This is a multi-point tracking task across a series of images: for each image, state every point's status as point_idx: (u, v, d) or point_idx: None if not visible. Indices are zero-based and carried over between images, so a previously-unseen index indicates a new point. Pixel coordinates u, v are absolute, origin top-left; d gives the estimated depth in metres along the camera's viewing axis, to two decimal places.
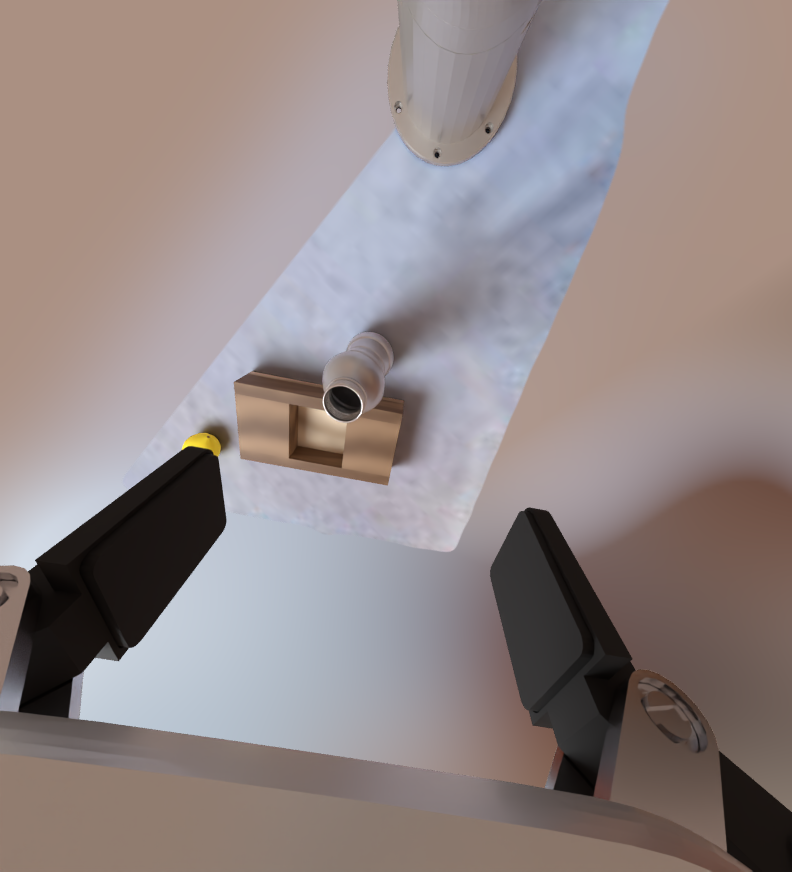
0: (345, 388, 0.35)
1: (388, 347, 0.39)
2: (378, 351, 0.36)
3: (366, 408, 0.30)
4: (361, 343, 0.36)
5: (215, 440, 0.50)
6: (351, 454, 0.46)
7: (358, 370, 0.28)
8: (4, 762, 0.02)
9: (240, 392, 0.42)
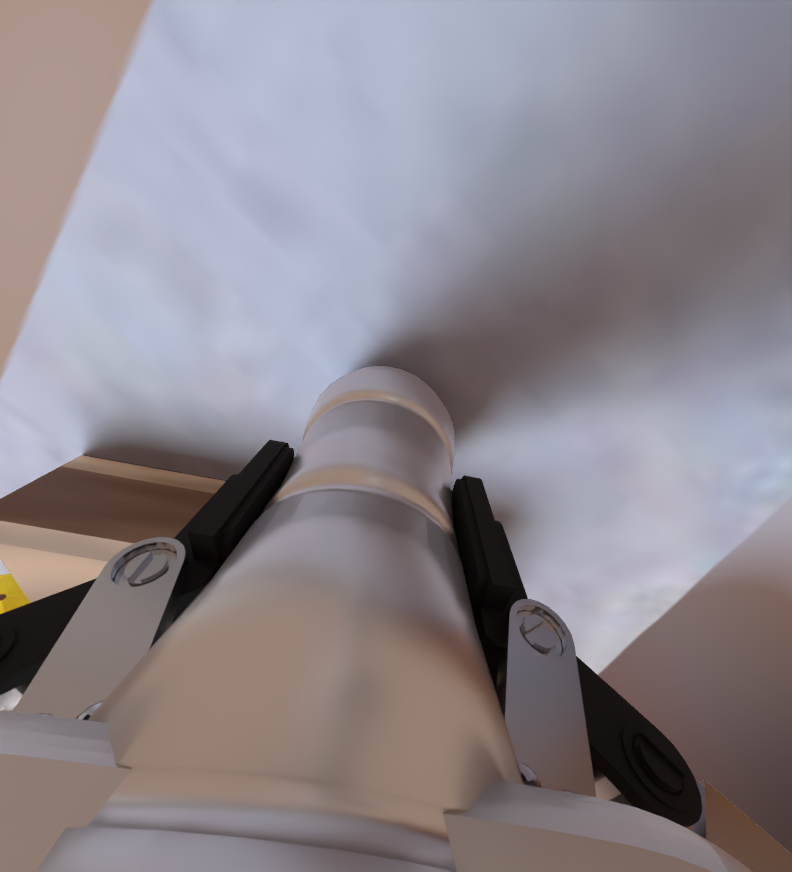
0: None
1: (446, 423, 0.12)
2: (429, 476, 0.08)
3: None
4: (352, 440, 0.08)
5: None
6: None
7: None
8: (4, 762, 0.02)
9: (1, 539, 0.14)
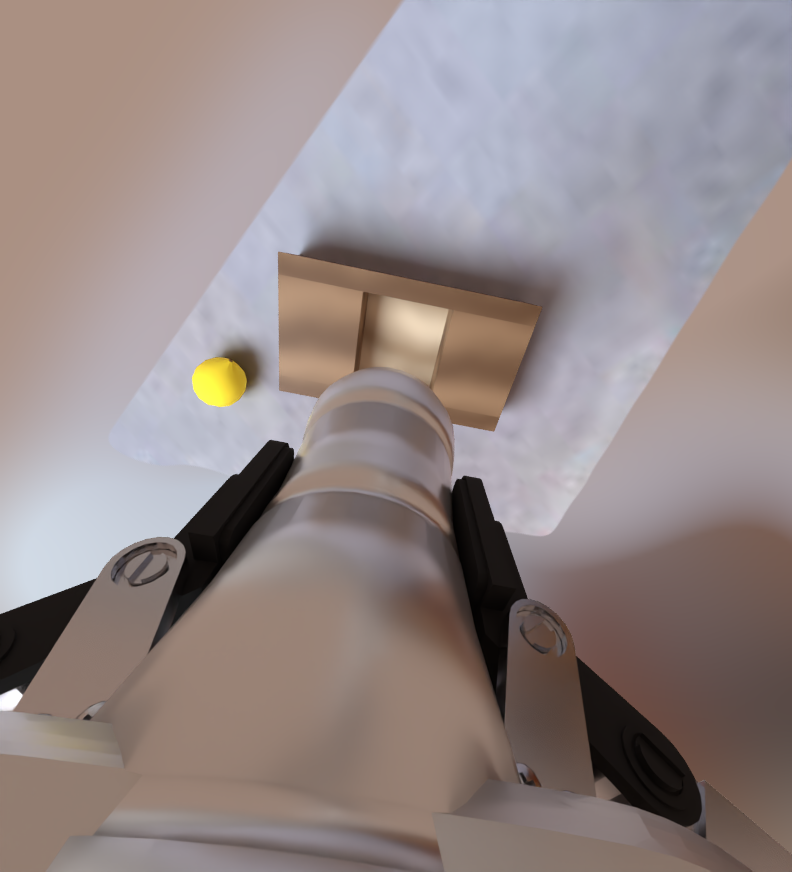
0: None
1: (446, 424, 0.12)
2: (428, 478, 0.08)
3: None
4: (352, 442, 0.08)
5: (240, 368, 0.34)
6: (448, 381, 0.30)
7: None
8: (4, 762, 0.02)
9: (287, 271, 0.27)
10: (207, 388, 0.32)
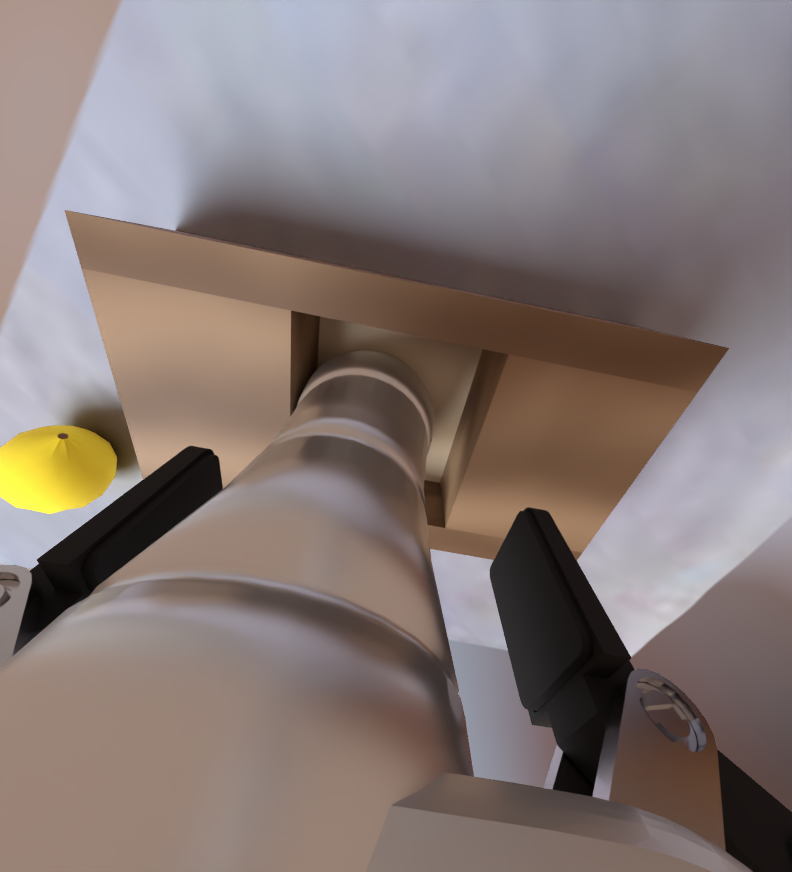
0: None
1: (424, 399, 0.13)
2: (400, 436, 0.09)
3: None
4: (334, 404, 0.09)
5: (93, 445, 0.19)
6: (485, 491, 0.15)
7: None
8: None
9: (101, 262, 0.11)
10: (11, 492, 0.17)
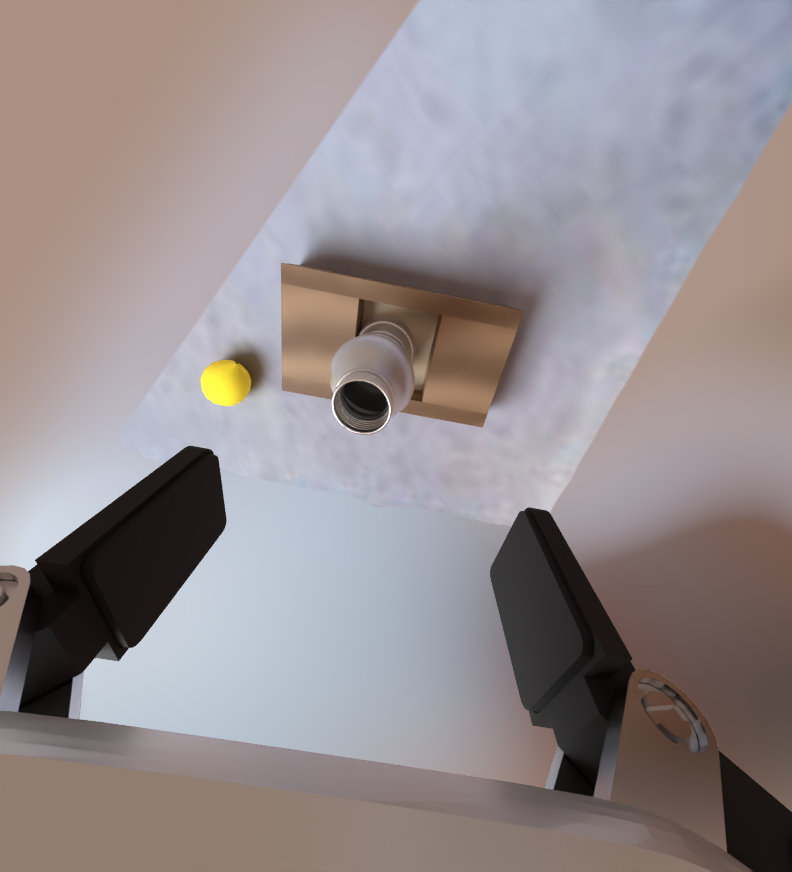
0: (358, 386, 0.27)
1: (410, 335, 0.31)
2: (400, 339, 0.27)
3: None
4: (378, 328, 0.27)
5: (245, 370, 0.37)
6: (439, 380, 0.33)
7: (382, 359, 0.19)
8: (3, 762, 0.02)
9: (289, 281, 0.29)
10: (215, 388, 0.35)
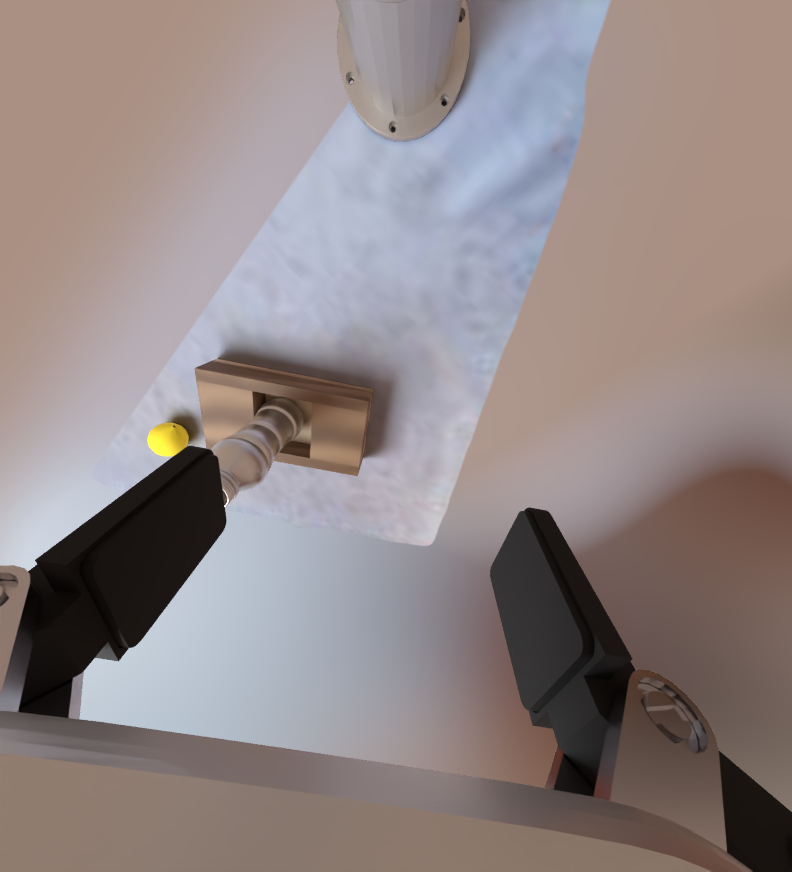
0: None
1: (293, 414, 0.43)
2: (275, 424, 0.39)
3: (246, 488, 0.33)
4: (260, 417, 0.39)
5: (182, 430, 0.49)
6: (319, 444, 0.45)
7: (232, 459, 0.31)
8: (4, 762, 0.02)
9: (201, 379, 0.41)
10: (157, 446, 0.47)
